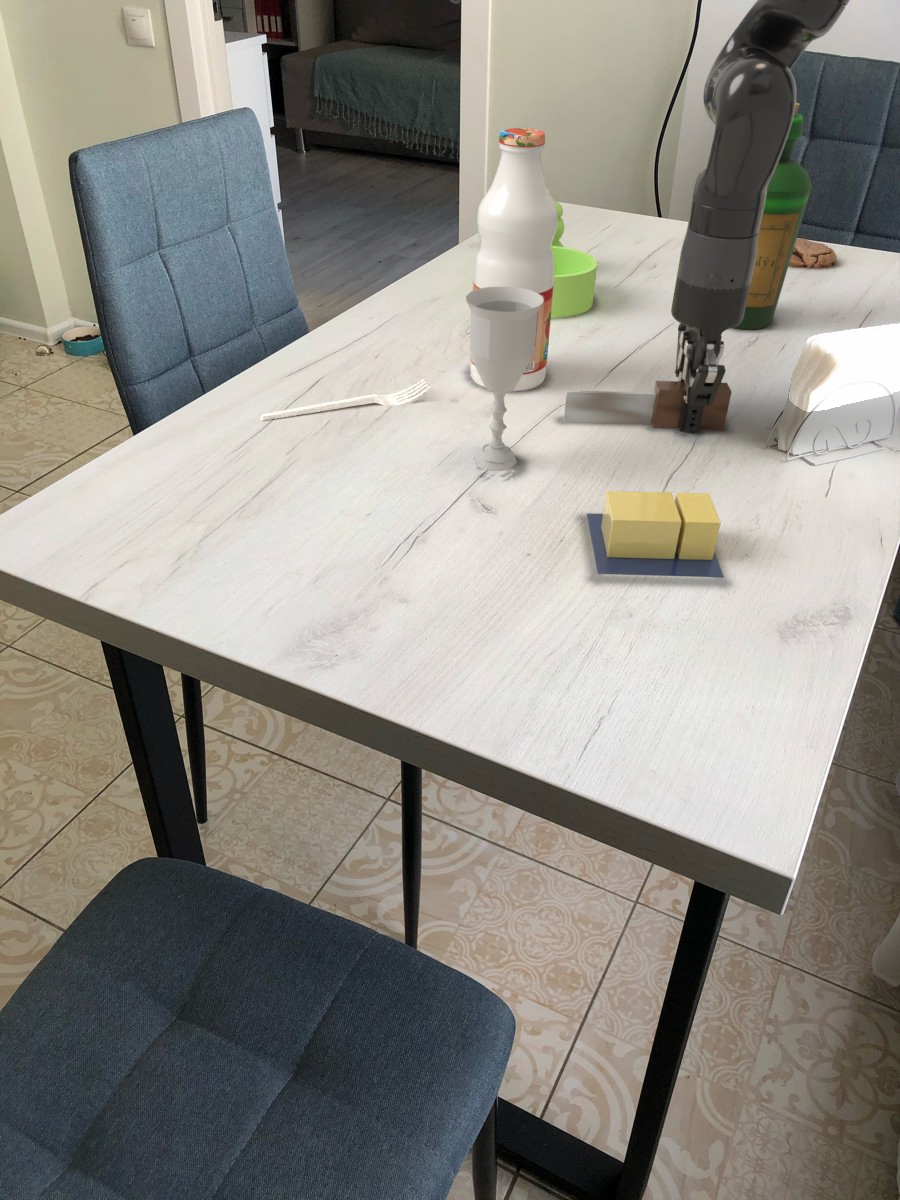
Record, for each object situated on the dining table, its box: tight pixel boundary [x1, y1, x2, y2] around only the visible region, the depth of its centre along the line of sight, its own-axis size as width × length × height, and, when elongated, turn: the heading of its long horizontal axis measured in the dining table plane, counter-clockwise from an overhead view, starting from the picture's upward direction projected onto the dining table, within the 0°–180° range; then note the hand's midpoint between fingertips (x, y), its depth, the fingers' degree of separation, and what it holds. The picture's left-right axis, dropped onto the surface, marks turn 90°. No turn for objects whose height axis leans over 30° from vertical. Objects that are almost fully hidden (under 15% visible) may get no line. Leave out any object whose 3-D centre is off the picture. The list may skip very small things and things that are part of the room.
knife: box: [563, 380, 732, 431], centre depth 106 cm, size 18×2×5 cm, turn 89°
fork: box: [260, 379, 431, 422], centre depth 108 cm, size 3×20×2 cm, turn 112°
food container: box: [547, 188, 598, 319], centre depth 139 cm, size 25×15×13 cm, turn 1°
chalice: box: [465, 287, 544, 472], centre depth 93 cm, size 7×7×18 cm
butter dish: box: [586, 490, 724, 578], centre depth 85 cm, size 11×10×5 cm
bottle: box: [733, 102, 813, 331], centre depth 126 cm, size 11×11×28 cm
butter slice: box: [674, 492, 721, 560], centre depth 85 cm, size 3×5×4 cm, turn 179°
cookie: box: [788, 237, 837, 270], centre depth 156 cm, size 10×11×3 cm
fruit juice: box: [469, 127, 558, 392], centre depth 108 cm, size 9×9×28 cm
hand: (685, 426), depth 107 cm, fingers closed on knife, 2 cm apart
